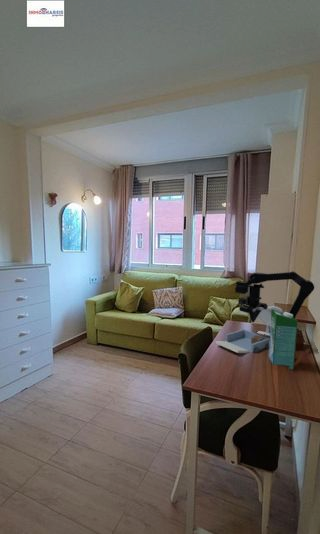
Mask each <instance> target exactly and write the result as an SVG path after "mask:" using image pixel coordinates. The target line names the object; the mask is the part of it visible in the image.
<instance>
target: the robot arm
mask: <svg viewBox="0 0 320 534" xmlns="http://www.w3.org/2000/svg"><path fill="white" fill-rule="evenodd" d="M284 280H285V281H288V280H292V281H293V282H294V283H296V284H297V285H298V286H300V287H299V289H298V293H297V295H296V298H295V300H294V301H293V303H292V305H291V307H290V309H289V311H288V313H290V314H293V317H294V318H295V319H296V317H297V314H299V312H300V310H301V308H302V306H303V304H304V303H305V301H306V299H307V298H308V297H309V296H310V295H311V294H312V292H314V290H315V284H314V283H313V281H311V280H309V279H306V278H304V277H302V276H301V275H300V274H298V273H297V272H295V271H292V270H291V271H289V272H286V271H285V272H274V273H271V272H270V273H264V272H253V273H251V275H250V276H249V280H247V281H246V282H244V281H243V282H242V281H236V284H235V287H234V288H235V289H234V292H235V294H241V295H246V294H248V295H247V297H246V298H243V297H240V298H238V302H237V303H238V304H239V305H240V306H239V307H238V308H239V309H238V310H239V312H243V313H246V314H248V315H249V317H250V320H251V323H255V321H256V320H257V319H258V318H257V316H258V315H259V313H260V312H261V311H262V310H259V308H260V307H262V308H264V309H267V306H269V305H268V304H267V303H265V302H260V301H261V300H262V297H261V289H264V288H265V286H264V285H263V283H264V282H269V281H270V282H271V281H284Z"/></svg>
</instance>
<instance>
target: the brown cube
mask: <svg viewBox="0 0 320 534" xmlns="http://www.w3.org/2000/svg"><path fill="white" fill-rule="evenodd" d="M262 340H263V338H262V337H259V336H253V337H251V344H254V343H256V342H259V341H262Z"/></svg>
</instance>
